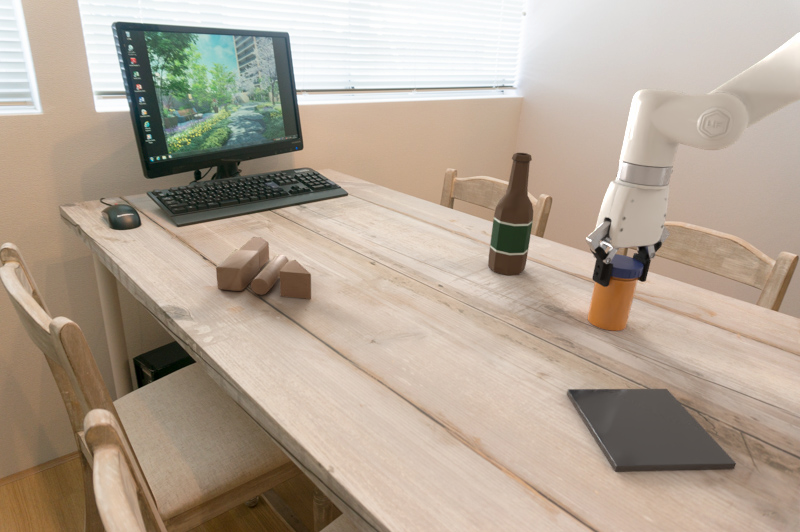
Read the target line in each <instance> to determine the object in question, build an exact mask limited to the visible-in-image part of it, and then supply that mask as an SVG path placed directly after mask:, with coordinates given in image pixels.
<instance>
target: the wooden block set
mask: <svg viewBox="0 0 800 532" xmlns="http://www.w3.org/2000/svg"><path fill="white" fill-rule="evenodd" d="M269 245H270V244H269V242H268V240H266V239H264V238H263V237H262V236H261V237H259V236H252V237H251V238H250V239H249V240H248V241H246V242H245V243H244V244H243V245H242V246H241V247H240V248H237V249H235V250H234V251H232V252H231V253H230V254H229V255H227V256H226V257H225V258H224V259H223V260H222V261H220V262H219V263H218V264H217V265H216V267H215V272H216V284H217V290H220V291H230V292H231V291H232V292H243V291H244V290H245V289H246V288H247V287H248V285H250V289H251V291H252V292H253V293H254V294H257V295H261V296H262V295H263V296H264V295H266V294H267V293H268V292H269V291H270V290H271V288H272V287H273V286H274V285H275V284H276V283H277V281H278V280H279V294H280V297H284V298H293V299H294V298H295V299H305V300H306V299H307V300H312V274H311V272H309V271H308V270H307V269H306V268H305V267H304V266H303V265H302V264H301V263H300V262H299V261H297V260H296V259H291V260H289V258H288V257H287V256H286V255H285V254H280V253H279V254H276V255H274V256H273V257H272V259H271V260H270V246H269ZM269 260H270V261H269ZM267 262H268V263H267ZM266 263H267V264H266ZM265 264H266V265H265ZM264 265H265V266H264ZM260 269H261V270H260Z"/></svg>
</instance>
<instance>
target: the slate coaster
mask: <svg viewBox="0 0 800 532" xmlns="http://www.w3.org/2000/svg"><path fill="white" fill-rule="evenodd" d="M566 390H567V391H566V396H568V398H569V400H570V402H571V403H572V405H573V407H574V408H575V410H576V411H577V413H578V415H579V416H580V418H581V419H582V421H583V422H584V424H585V426H586V427H587V429H588V430H589V432H590V434H591V435H592V437H593V438H594V440H595V442H596V443H597V445H598V447H599V448H600V450H601V451H602V453H603V454H604V456H605V458H606V460H607V461H608V463H609V464H610V466H611V468H612V469H613V470H614V472H646V471H647V472H648V471H649V472H651V471H652V472H653V471H654V472H655V471H693V470H694V471H695V470H696V471H697V470H699V471H700V470H734V469H735V468H736V465H737V463H736V461H735V460H734V459H733V458H732V457H731V456H730V455H729V453H727V451H726V450H725V449H723V447H722V446H721V445H720V444H719V443H718V442H717V441H716V440H715V438H713V436H712V435H711V434H710V433H709V432H708V431H707V430H706V429H705V428H704V427H703V426H702V425H701V424H700V423H699V421H698V420H696V418H694V416H693V415H692V414H691V413H690V412H689V411H688V410H687V409H686V408H685V407H684V405H683V404H682V403H681V402H680V401H679V400H678V399H677V398H676V397H675V396H674V395H673V394H672V392H671V391H670V390H669V389H668V388H582V389H581V388H577V389H576V388H571V389H570V388H569V389H566Z"/></svg>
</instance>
